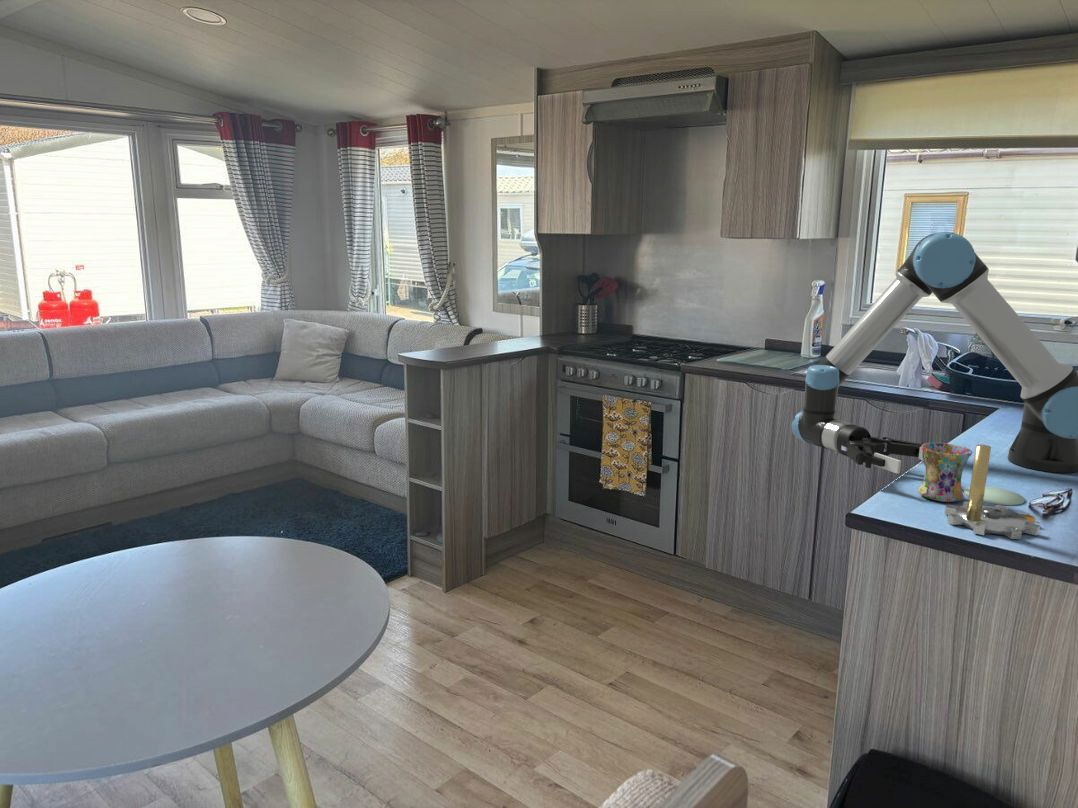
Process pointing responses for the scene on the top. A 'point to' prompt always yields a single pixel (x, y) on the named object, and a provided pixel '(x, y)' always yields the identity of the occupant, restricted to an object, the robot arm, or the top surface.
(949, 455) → the mug
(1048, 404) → the robot arm
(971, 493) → the sprocket
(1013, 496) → the pale green plate
